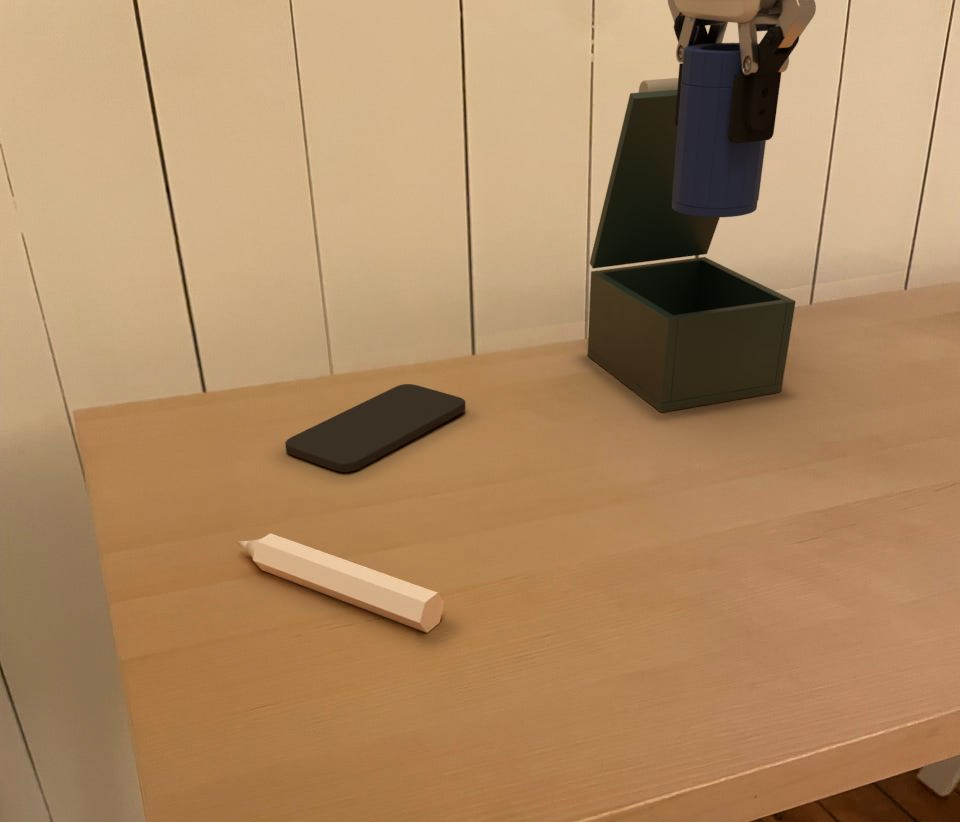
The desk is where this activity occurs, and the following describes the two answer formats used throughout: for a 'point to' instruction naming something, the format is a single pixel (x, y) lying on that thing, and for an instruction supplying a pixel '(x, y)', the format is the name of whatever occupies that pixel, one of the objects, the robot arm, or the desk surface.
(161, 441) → the desk surface
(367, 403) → the phone
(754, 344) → the chest
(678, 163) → the jar
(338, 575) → the wooden pencil
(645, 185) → the lid
